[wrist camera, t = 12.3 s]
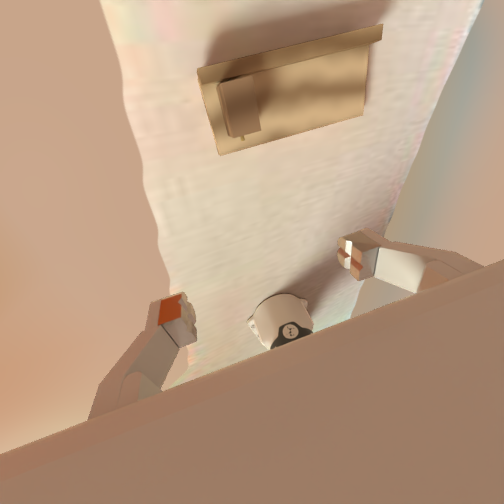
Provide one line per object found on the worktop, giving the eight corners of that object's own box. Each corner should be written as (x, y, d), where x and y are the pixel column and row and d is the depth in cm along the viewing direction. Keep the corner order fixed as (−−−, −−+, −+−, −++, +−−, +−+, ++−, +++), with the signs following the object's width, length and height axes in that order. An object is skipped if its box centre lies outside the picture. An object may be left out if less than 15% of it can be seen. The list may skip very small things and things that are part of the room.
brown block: (253, 136, 34) (262, 139, 29) (229, 143, 33) (235, 146, 29) (243, 81, 29) (252, 75, 25) (216, 87, 29) (221, 83, 25)
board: (355, 115, 38) (373, 115, 34) (218, 154, 35) (222, 158, 32) (361, 34, 32) (383, 23, 28) (196, 74, 29) (197, 68, 26)
